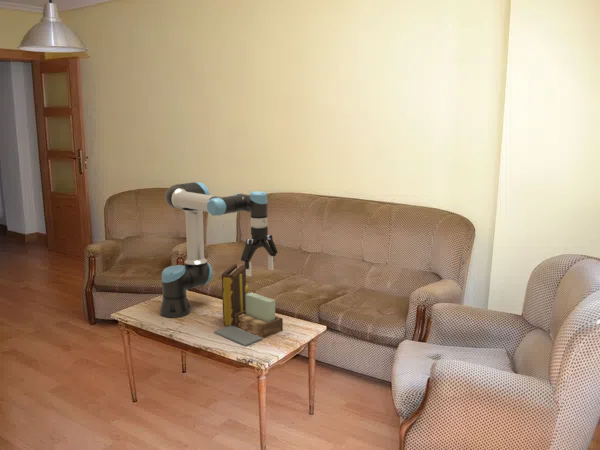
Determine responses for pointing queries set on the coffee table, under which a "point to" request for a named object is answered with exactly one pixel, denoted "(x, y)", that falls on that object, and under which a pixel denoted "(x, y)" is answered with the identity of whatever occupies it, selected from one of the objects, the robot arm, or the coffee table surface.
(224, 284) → the book
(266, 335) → the frame
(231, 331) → the mat
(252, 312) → the pale green slab
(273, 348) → the coffee table surface
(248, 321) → the brown wooden bar
